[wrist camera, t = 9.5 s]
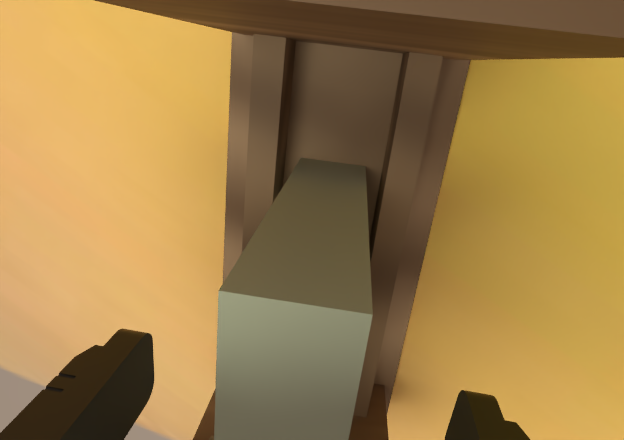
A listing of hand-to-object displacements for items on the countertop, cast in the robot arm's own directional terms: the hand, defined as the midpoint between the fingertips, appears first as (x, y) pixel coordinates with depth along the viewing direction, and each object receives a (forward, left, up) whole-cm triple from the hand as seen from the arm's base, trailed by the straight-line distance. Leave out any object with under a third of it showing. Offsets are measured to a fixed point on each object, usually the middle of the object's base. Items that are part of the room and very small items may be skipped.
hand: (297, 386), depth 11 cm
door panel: (+2, 0, -10) cm, 11 cm away
